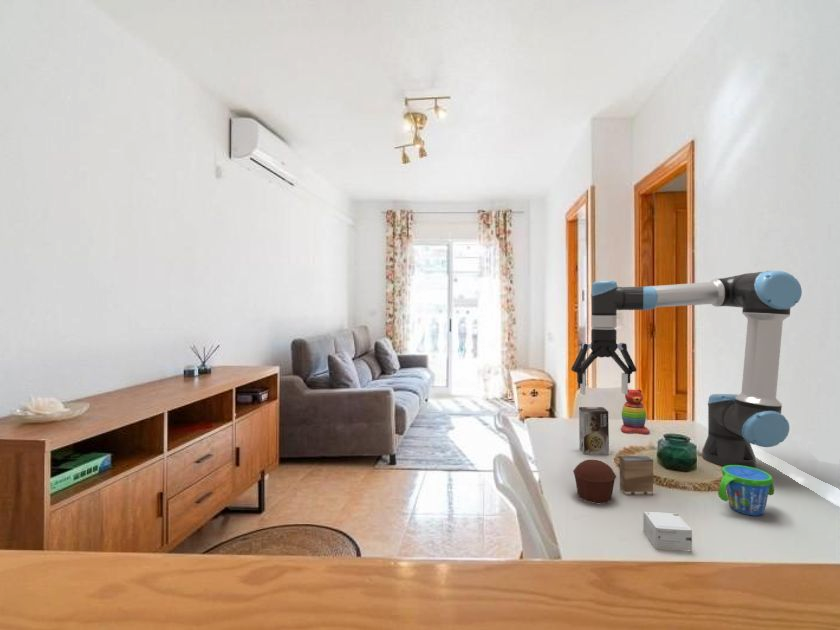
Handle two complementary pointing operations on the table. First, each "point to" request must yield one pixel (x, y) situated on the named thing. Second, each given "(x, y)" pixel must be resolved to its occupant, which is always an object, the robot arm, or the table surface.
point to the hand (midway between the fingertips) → (603, 393)
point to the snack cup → (745, 488)
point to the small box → (667, 531)
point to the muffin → (594, 481)
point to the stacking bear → (634, 414)
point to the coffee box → (593, 430)
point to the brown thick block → (636, 475)
